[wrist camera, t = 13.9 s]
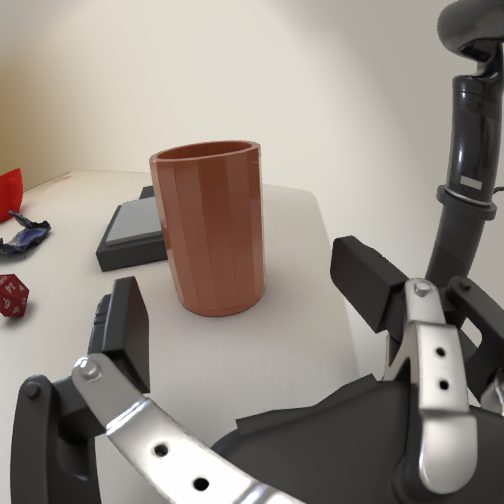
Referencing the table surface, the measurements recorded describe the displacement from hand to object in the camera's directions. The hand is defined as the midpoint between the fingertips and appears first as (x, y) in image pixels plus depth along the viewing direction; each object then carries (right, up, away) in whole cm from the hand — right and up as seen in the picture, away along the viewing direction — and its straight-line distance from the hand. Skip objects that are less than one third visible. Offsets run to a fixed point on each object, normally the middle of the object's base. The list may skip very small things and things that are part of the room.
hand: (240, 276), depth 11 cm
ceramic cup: (-56, +9, +34) cm, 66 cm away
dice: (-20, -5, +7) cm, 22 cm away
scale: (-9, +3, +19) cm, 21 cm away
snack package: (-33, +1, +18) cm, 38 cm away
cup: (-2, -2, +10) cm, 10 cm away
